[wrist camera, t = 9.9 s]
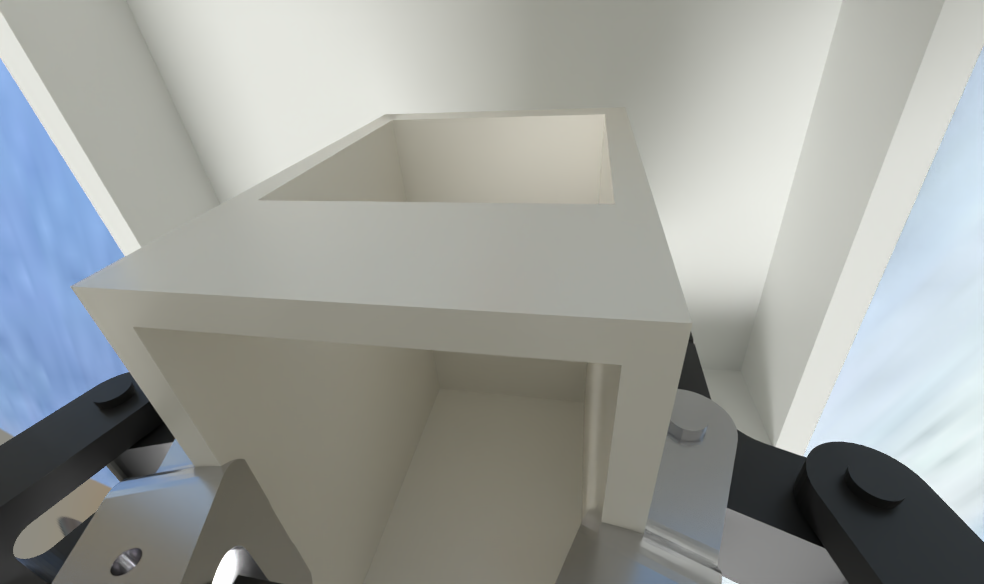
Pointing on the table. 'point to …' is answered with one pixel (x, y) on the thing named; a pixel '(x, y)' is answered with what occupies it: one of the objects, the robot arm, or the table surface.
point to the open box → (422, 342)
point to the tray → (542, 86)
